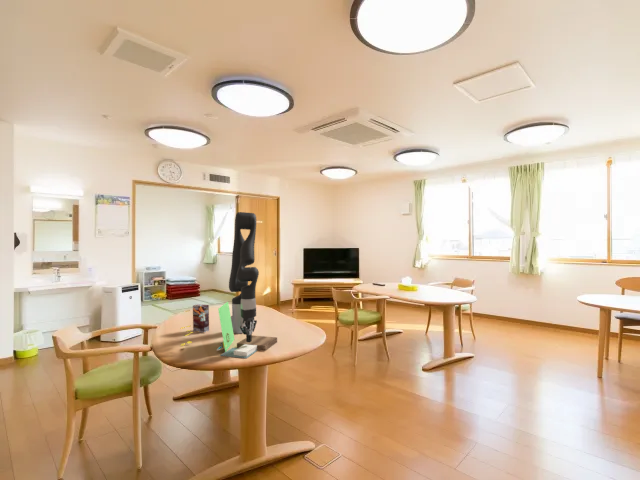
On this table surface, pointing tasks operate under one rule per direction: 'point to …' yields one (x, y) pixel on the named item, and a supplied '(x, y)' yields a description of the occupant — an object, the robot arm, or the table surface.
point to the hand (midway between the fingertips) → (249, 341)
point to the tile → (245, 350)
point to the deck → (259, 342)
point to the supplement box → (197, 324)
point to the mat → (231, 353)
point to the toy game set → (225, 325)
